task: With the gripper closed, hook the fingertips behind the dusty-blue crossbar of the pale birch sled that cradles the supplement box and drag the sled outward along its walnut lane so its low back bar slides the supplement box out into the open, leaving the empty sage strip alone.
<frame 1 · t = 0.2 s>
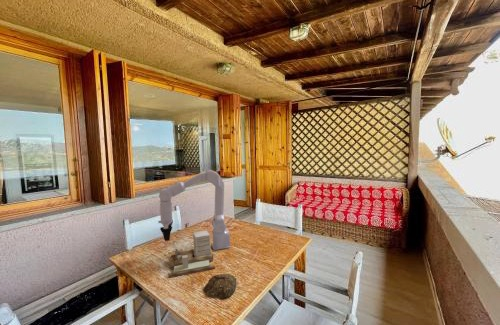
hand: (167, 237, 114), 10 cm above the table, fingers open, 7 cm apart
lane frame: (190, 251, 119), on the table
supplement box: (202, 257, 112), resting in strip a
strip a: (194, 253, 111), point 3 cm above the table, slide at 0.0 cm
strip b: (192, 261, 102), point 3 cm above the table, slide at 0.0 cm
bread roll: (220, 289, 87), on the table
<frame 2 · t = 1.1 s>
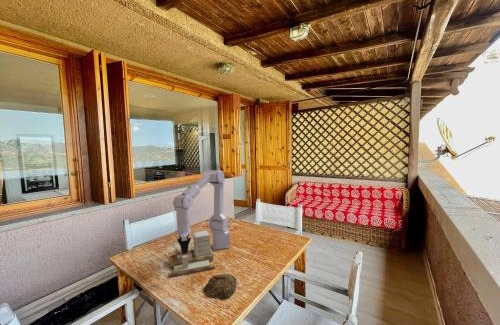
hand: (184, 250, 100), 9 cm above the table, fingers open, 6 cm apart
nothing on the table moved.
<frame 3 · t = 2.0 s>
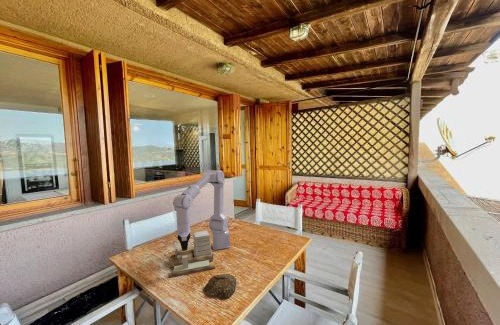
hand: (184, 250, 100), 9 cm above the table, fingers closed
nothing on the table moved.
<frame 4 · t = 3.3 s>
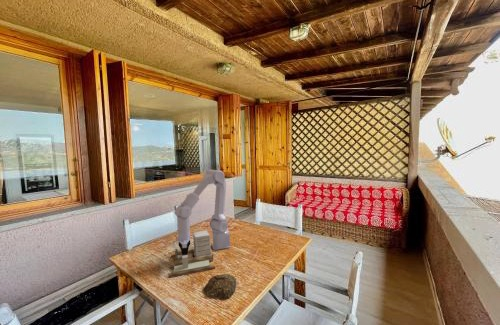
hand: (184, 255, 110), 2 cm above the table, fingers closed
nothing on the table moved.
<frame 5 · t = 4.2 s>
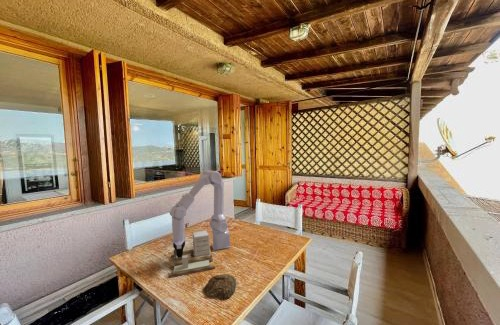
hand: (179, 256, 109), 2 cm above the table, fingers closed, pressing on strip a
supplement box: (201, 257, 112), resting in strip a
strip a: (192, 253, 111), point 3 cm above the table, slide at 0.7 cm, touching gripper, supplement box
everything else where it was.
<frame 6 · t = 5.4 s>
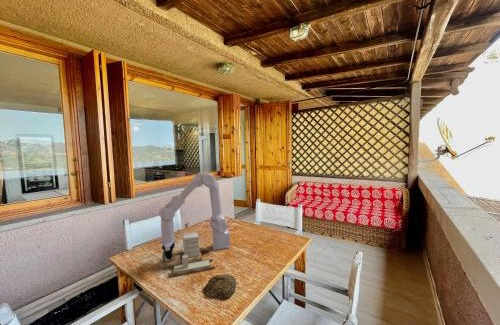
hand: (169, 258, 107), 2 cm above the table, fingers closed, pressing on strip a
supplement box: (191, 259, 111), resting in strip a
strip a: (182, 255, 109), point 3 cm above the table, slide at 5.8 cm, touching gripper
everything else where it was.
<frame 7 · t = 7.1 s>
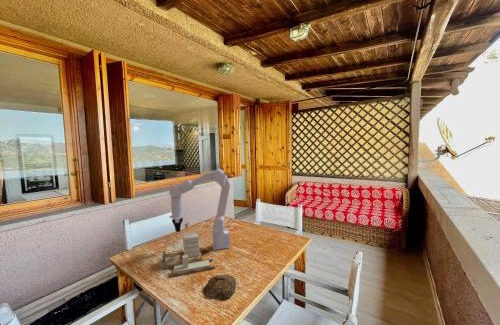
hand: (178, 231, 122), 10 cm above the table, fingers closed
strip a: (182, 255, 109), point 3 cm above the table, slide at 5.8 cm
everything else where it was.
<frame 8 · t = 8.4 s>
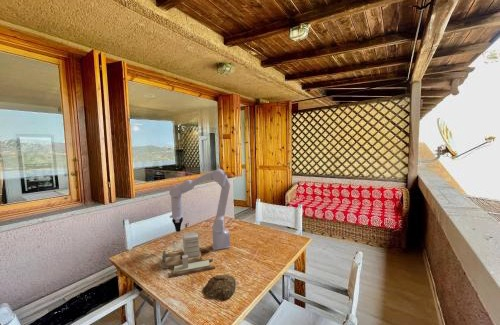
hand: (178, 231, 122), 10 cm above the table, fingers closed
nothing on the table moved.
at the end: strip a slide at 5.8 cm; supplement box moved 5.3 cm from its start; supplement box tilted 0° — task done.
